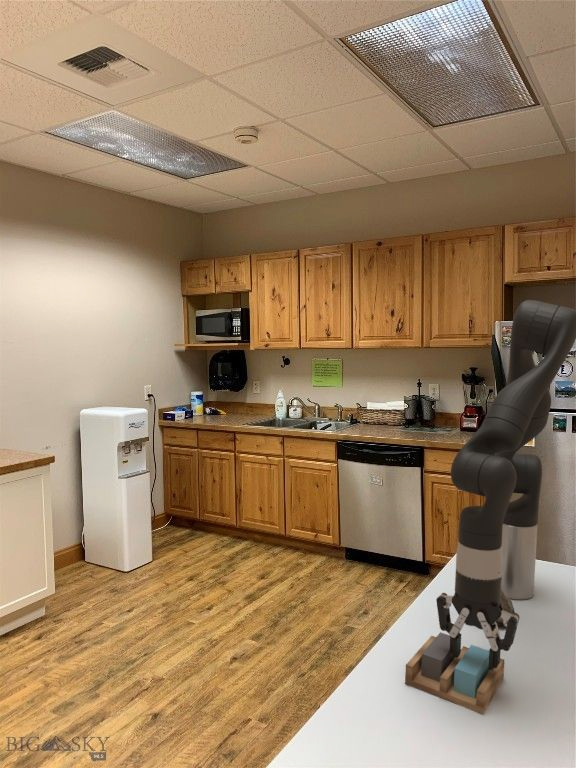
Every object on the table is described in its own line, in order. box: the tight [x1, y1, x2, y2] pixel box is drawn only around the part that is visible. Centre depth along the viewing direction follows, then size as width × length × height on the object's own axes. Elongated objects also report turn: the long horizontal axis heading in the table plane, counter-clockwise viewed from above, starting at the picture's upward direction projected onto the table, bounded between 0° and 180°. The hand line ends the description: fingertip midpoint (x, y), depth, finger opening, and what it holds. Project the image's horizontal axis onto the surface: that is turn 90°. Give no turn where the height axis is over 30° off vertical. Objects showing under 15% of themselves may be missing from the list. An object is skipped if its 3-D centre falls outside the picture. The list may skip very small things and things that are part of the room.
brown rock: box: [496, 589, 516, 627], centre depth 126 cm, size 11×9×10 cm
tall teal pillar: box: [454, 644, 490, 698], centre depth 101 cm, size 9×4×4 cm, turn 145°
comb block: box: [404, 635, 505, 715], centre depth 103 cm, size 12×14×4 cm
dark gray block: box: [421, 632, 455, 682], centre depth 105 cm, size 9×4×4 cm, turn 145°
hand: (474, 661), depth 101 cm, fingers open, 5 cm apart
